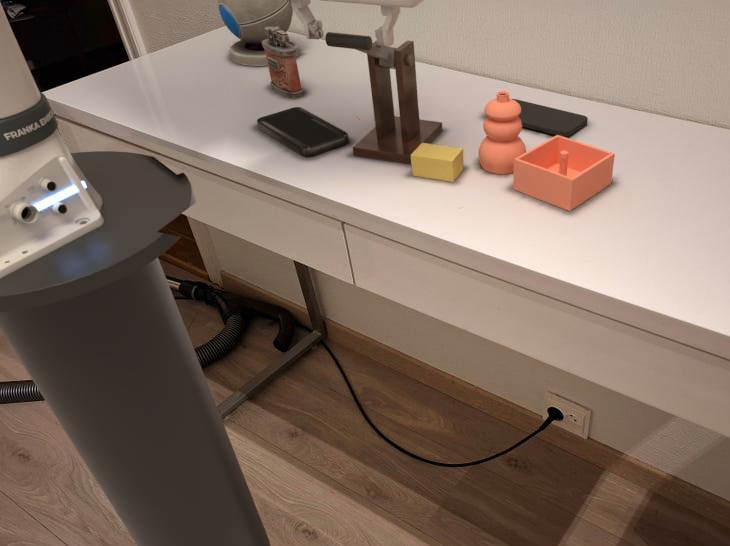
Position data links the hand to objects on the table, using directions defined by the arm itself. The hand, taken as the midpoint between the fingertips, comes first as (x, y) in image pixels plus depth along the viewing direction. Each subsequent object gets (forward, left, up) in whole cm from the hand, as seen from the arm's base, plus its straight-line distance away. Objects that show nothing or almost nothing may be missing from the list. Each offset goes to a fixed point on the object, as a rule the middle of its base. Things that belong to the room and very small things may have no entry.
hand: (349, 41), depth 80 cm
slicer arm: (+5, 0, -4) cm, 6 cm away
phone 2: (+25, -17, -17) cm, 35 cm away
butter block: (+4, -9, -17) cm, 20 cm away
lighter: (+24, +27, -17) cm, 40 cm away
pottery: (+7, -22, -17) cm, 29 cm away
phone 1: (+9, +15, -17) cm, 25 cm away
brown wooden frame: (+11, 0, -17) cm, 20 cm away
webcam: (+39, +41, -17) cm, 59 cm away
